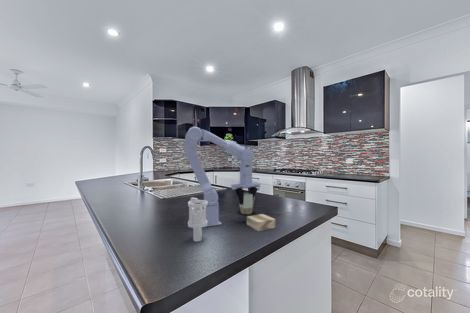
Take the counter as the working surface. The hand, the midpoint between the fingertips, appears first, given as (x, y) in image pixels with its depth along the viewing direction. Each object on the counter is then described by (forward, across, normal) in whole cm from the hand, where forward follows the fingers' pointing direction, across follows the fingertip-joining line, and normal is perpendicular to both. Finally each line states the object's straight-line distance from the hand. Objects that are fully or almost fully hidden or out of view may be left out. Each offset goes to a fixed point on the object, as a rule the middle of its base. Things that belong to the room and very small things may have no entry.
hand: (246, 203), depth 94 cm
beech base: (+9, +3, -8) cm, 12 cm away
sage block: (+1, 0, 0) cm, 1 cm away
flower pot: (+9, +7, +13) cm, 17 cm away
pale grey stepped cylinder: (+9, -26, -10) cm, 29 cm away
